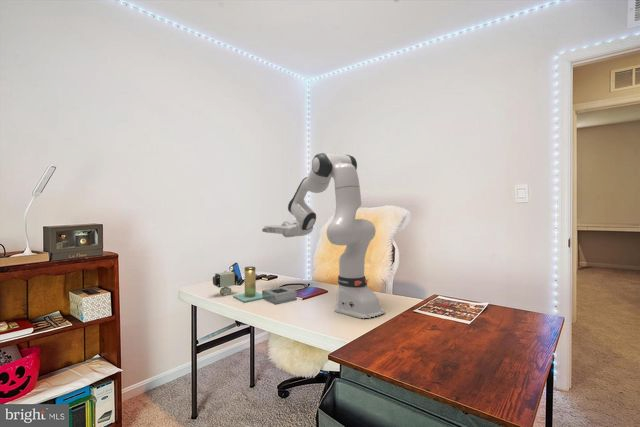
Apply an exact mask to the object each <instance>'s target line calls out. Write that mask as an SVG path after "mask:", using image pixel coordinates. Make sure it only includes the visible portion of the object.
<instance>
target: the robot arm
mask: <svg viewBox="0 0 640 427" xmlns="http://www.w3.org/2000/svg"><path fill="white" fill-rule="evenodd" d="M357 163H358V162H357V159H356V158H355V157H354V156H352V155H350V154H342V153H333V152H331V153H328V152H327V153H323V152H322V153H317V154H316V155H315V156H314V157H313V159H312V161H311V168H310V171H309V174H308V176H305V177H304V178H303V179H302V180H301V182H300V184H299V185H298V187H297V189H296V191H295V193H294V195H293V197H292V198H291V199H290V201H289V202H288V206H287V210H288V212H289V213H290V214H291V215H292V216H294V218H296V219H295V220H285V221H283V222H282V224H281V225H264V227H263V228H262V229H261V232H262V233H267V234H277V235H282V236H283V237H284V238H293V237H304V236H306V235H309V234H311V233H312V232H313V230H314V225H315V223H316V220H317V213H315V211H314V210H313V209H312V208H311V207H310V206H309V205H308V204H307V203H306V202H305V197H306V195H307V194H308V192H310V193H314V194H320V193H323V192H324V191H326V190H327V189H328V187H329V184H330V182H331V180H332V179H333V181H334V182H333V183H334V193H335V212H334V216H333V218H332V221H331V222H330V223H329V224H328V226H327V228H326V237H327V240H328V241H329V243H331V244H332V245H336V246H343V247H344V246H346V247H345V249H344V252H342V254H341V255H340V256H339V258H338V263H339V264H338V271H339V272H338V276H337V284H338V288H337V289H338V290H337V294H336V302H335V307H334V312H336V313H339V314H342V315H347V316H351V317H354V318H357V319H361V318H363V319H362V320H365V319H364V318H369V319H372V318H371V317H374V318H376V317H375V316H378V315H381V314H383V313H384V312H385V313H386V309H384V308H382V307H381V306H380V305H381V304H380V300H379V297H378V296H377V295H376V294H375V292H374V291H373V290H372V289H371V288H370V287H369V286H368V283H369V282H370V279H369V278H368V279H367V278H366V276H365V264H366V263H365V260H366V254H367V250H368V248H369V245H370V243H371V242H372V240H373V239H374V237H375V235H376V232H377V231H376V226H375V224H374V223H373V222H372V221H370V220H368V219H365V218H364V219H363V218H356V215H357V210H358V209H359V208H361V206H362V195H361V187H360V179H359V176H358V171H357V170H358V169H357V168H358V164H357ZM385 313H384V314H385ZM384 314H383V315H384ZM381 316H382V315H381ZM378 317H379V316H378Z"/></svg>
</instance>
